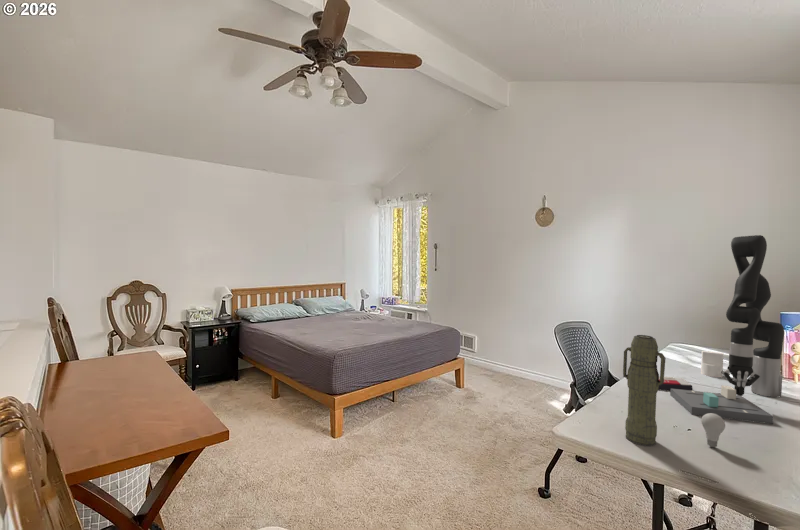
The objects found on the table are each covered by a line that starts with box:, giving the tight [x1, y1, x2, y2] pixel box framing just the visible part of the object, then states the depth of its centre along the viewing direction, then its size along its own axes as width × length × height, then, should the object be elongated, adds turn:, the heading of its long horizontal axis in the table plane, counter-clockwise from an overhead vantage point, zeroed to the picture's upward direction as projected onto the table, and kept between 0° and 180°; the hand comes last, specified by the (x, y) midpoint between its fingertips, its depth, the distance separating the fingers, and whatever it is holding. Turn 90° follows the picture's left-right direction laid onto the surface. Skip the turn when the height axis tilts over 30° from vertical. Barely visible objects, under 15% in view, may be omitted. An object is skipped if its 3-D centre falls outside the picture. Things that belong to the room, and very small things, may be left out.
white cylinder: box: [700, 350, 724, 378], centre depth 206 cm, size 9×9×12 cm
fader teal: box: [703, 391, 719, 408], centre depth 155 cm, size 3×5×4 cm, turn 163°
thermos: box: [622, 334, 666, 447], centre depth 130 cm, size 9×12×35 cm
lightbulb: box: [700, 413, 726, 449], centre depth 127 cm, size 6×6×11 cm
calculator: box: [658, 376, 694, 391], centre depth 185 cm, size 11×4×15 cm
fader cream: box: [720, 384, 736, 400], centre depth 164 cm, size 3×5×4 cm, turn 163°
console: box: [669, 389, 774, 424], centre depth 160 cm, size 26×22×3 cm
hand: (739, 395), depth 163 cm, fingers closed
